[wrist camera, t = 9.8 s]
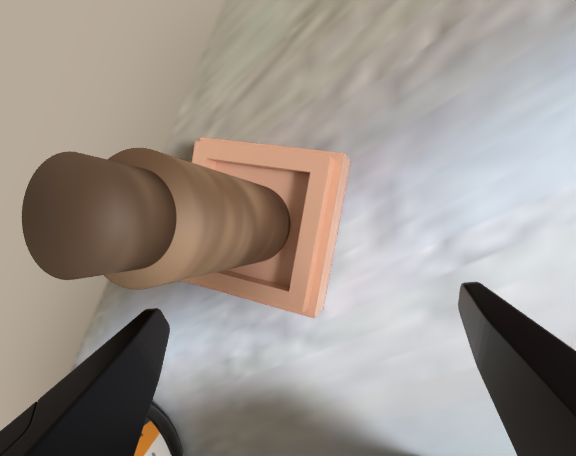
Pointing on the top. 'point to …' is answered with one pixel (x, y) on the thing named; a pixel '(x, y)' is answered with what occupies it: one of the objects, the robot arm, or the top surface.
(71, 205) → the pepper mill
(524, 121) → the top surface
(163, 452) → the supplement container
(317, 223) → the mill holder
